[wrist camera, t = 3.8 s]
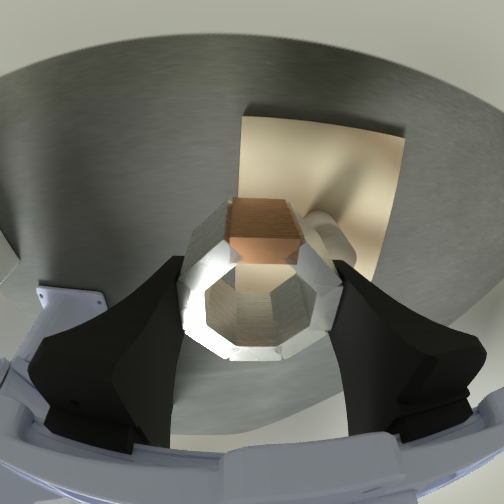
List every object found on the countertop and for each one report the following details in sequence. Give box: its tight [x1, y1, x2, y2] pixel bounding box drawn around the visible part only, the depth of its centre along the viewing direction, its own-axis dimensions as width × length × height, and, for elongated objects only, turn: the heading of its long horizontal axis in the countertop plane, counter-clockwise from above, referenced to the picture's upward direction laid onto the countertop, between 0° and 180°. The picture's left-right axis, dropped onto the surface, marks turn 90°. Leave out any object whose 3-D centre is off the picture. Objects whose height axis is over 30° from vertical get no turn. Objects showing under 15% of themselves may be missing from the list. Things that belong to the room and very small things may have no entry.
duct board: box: [235, 116, 405, 292], centre depth 18 cm, size 14×11×6 cm
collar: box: [176, 197, 343, 361], centre depth 12 cm, size 6×6×4 cm
